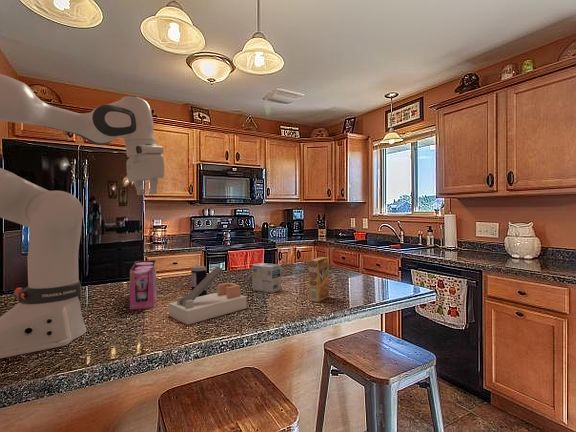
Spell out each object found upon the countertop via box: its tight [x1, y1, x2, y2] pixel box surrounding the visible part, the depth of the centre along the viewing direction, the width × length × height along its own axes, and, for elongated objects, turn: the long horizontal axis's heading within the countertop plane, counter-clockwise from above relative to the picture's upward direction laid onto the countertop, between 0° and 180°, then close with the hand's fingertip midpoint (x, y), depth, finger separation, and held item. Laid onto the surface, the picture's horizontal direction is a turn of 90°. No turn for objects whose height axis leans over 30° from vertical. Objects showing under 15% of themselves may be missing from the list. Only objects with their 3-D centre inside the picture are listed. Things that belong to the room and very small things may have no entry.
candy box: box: [308, 256, 330, 303], centre depth 123 cm, size 9×4×15 cm, turn 147°
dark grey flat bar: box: [180, 266, 224, 306], centre depth 106 cm, size 16×4×1 cm
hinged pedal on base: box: [168, 282, 247, 325], centre depth 108 cm, size 22×12×8 cm, turn 136°
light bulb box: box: [251, 262, 282, 294], centre depth 137 cm, size 11×7×11 cm, turn 58°
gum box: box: [129, 259, 158, 311], centre depth 122 cm, size 24×8×14 cm, turn 20°
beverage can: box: [190, 265, 208, 297], centre depth 126 cm, size 6×6×12 cm
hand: (147, 194), depth 105 cm, fingers open, 8 cm apart
